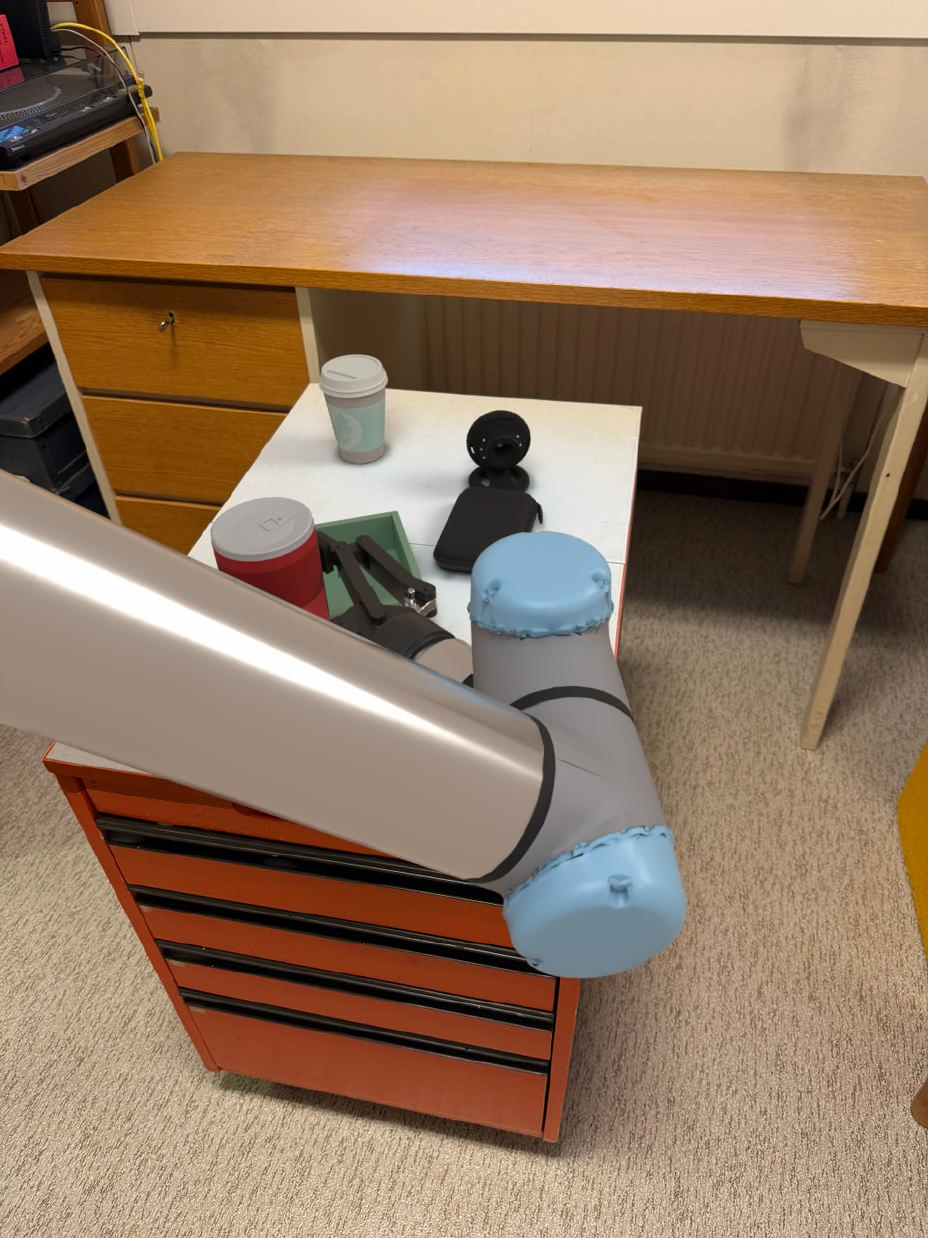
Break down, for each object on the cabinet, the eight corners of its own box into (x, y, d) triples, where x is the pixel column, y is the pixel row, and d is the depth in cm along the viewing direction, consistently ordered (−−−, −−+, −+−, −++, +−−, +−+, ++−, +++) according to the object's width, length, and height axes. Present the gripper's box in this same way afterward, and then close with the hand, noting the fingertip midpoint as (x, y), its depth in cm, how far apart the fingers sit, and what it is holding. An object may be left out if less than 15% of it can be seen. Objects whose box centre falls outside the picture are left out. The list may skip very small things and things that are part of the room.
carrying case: (525, 586, 94) (549, 509, 105) (526, 563, 92) (550, 488, 103) (429, 574, 96) (462, 500, 107) (427, 551, 94) (461, 478, 105)
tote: (275, 666, 86) (266, 627, 83) (263, 572, 97) (254, 534, 94) (431, 635, 89) (428, 596, 85) (401, 547, 100) (397, 509, 97)
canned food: (349, 619, 75) (333, 512, 68) (288, 675, 70) (263, 566, 63) (282, 590, 79) (259, 485, 71) (218, 642, 74) (187, 535, 66)
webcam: (472, 505, 106) (470, 430, 99) (463, 472, 112) (460, 400, 105) (536, 497, 107) (537, 423, 100) (523, 466, 112) (524, 393, 106)
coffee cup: (321, 446, 118) (308, 361, 110) (381, 430, 120) (372, 346, 113) (342, 476, 112) (329, 388, 104) (404, 459, 115) (396, 373, 107)
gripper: (317, 806, 58) (139, 647, 70) (526, 647, 69) (340, 533, 81) (300, 729, 53) (111, 573, 65) (528, 571, 64) (330, 462, 76)
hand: (238, 551), depth 73 cm, fingers closed on canned food, 8 cm apart
